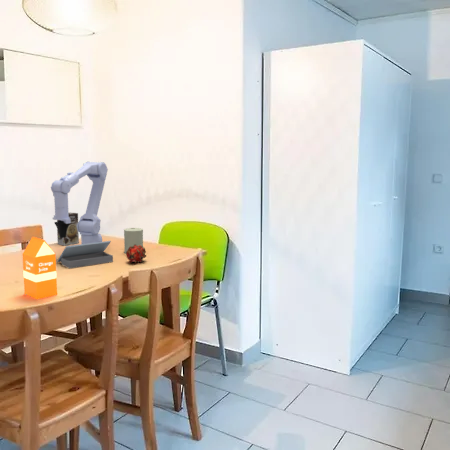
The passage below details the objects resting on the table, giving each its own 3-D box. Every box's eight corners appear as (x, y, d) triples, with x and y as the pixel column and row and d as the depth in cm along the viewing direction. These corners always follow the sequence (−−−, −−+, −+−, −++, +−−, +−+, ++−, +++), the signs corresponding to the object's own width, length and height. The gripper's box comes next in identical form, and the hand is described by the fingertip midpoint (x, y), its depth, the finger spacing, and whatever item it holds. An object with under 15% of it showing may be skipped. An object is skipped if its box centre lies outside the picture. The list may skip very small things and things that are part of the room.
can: (141, 250, 245) (141, 226, 243) (144, 254, 236) (144, 229, 234) (123, 251, 242) (122, 227, 240) (125, 255, 233) (124, 230, 232)
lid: (100, 256, 230) (98, 251, 230) (110, 241, 220) (109, 236, 221) (57, 262, 217) (56, 257, 218) (66, 247, 207) (64, 242, 208)
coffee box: (65, 246, 252) (64, 214, 250) (57, 244, 256) (56, 213, 253) (79, 243, 260) (78, 213, 257) (71, 241, 263) (70, 212, 261)
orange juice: (36, 299, 166) (33, 241, 163) (24, 294, 172) (21, 237, 168) (57, 294, 172) (55, 238, 168) (45, 289, 177) (42, 235, 174)
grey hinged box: (103, 258, 227) (103, 251, 226) (112, 261, 220) (112, 255, 219) (61, 264, 214) (61, 257, 213) (69, 268, 207) (69, 261, 207)
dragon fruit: (143, 262, 227) (133, 272, 215) (128, 251, 227) (117, 260, 215) (152, 248, 223) (142, 258, 212) (137, 237, 223) (127, 246, 212)
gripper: (46, 206, 221) (48, 235, 223) (58, 209, 210) (60, 240, 212) (62, 205, 226) (63, 234, 228) (74, 208, 215) (75, 239, 217)
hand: (62, 237), depth 220 cm, fingers closed
